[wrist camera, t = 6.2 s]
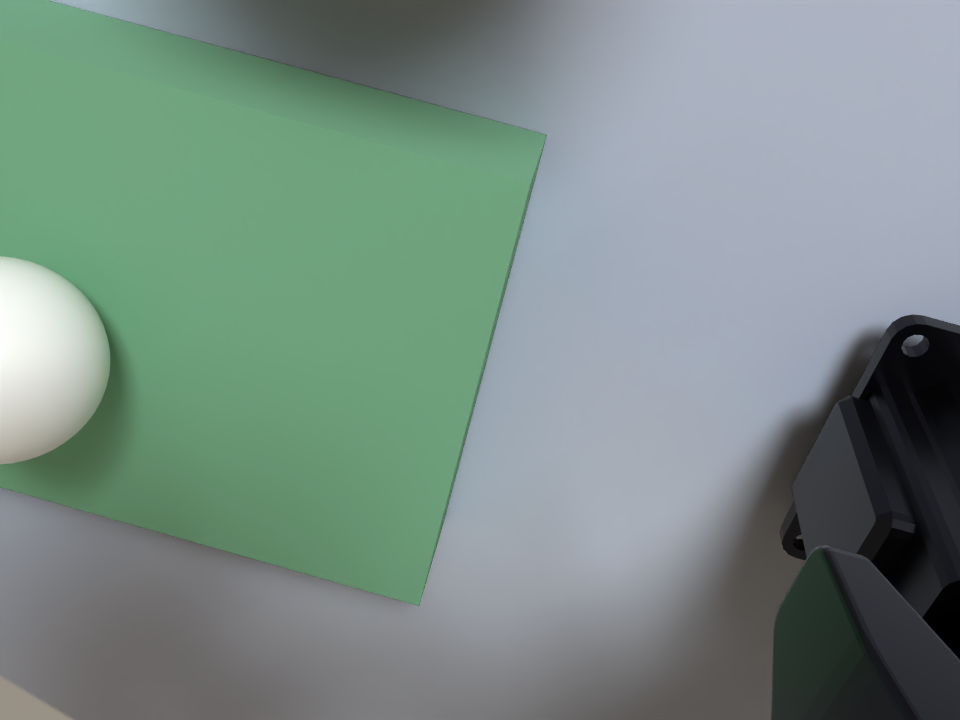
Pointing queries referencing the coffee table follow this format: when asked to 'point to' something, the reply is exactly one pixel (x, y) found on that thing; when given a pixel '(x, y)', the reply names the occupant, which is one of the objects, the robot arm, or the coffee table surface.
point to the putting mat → (259, 288)
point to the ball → (46, 360)
